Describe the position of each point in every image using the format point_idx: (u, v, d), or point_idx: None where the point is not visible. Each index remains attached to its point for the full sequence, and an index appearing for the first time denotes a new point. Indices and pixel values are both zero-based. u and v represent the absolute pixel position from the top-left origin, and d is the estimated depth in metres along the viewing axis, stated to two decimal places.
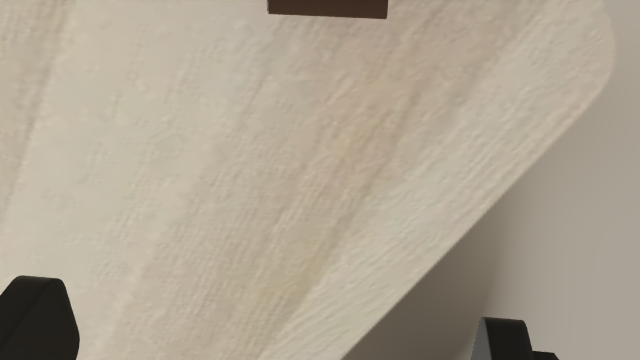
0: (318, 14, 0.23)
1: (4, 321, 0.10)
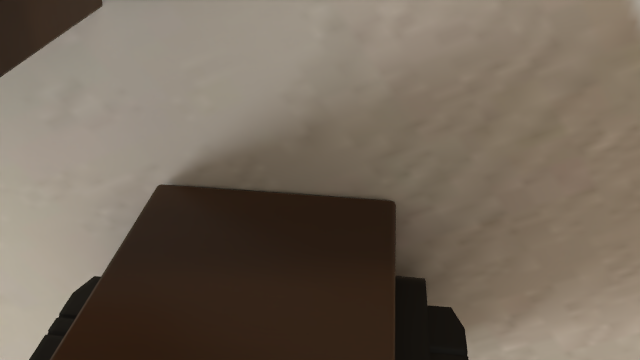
0: None
1: None
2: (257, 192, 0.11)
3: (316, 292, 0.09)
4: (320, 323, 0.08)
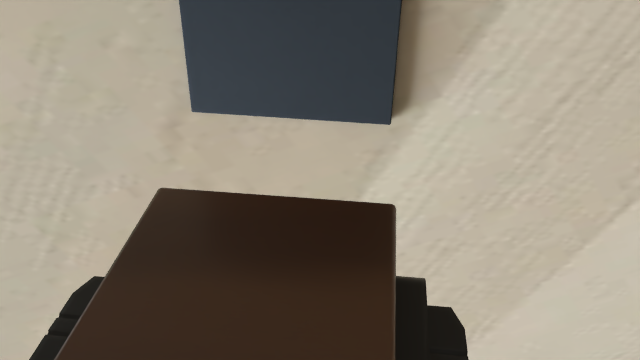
0: None
1: None
2: (258, 195, 0.11)
3: (318, 296, 0.09)
4: (320, 327, 0.08)
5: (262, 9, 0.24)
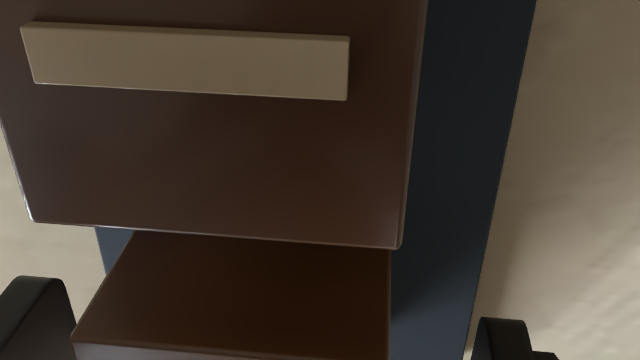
0: None
1: (4, 321, 0.10)
2: None
3: (321, 250, 0.10)
4: (324, 275, 0.10)
5: None
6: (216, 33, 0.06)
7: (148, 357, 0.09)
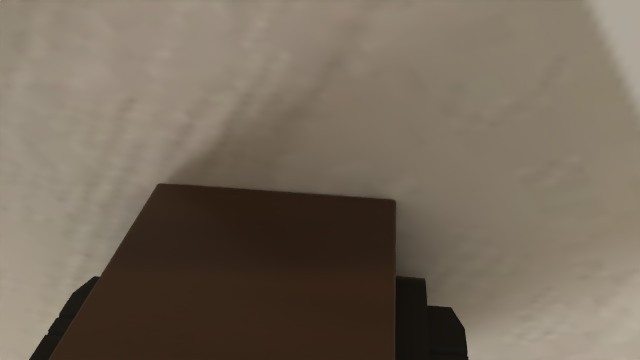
0: None
1: None
2: None
3: None
4: None
5: None
6: None
7: None
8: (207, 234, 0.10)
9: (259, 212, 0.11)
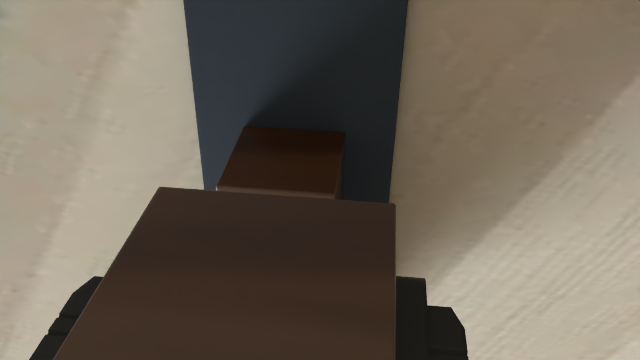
0: None
1: None
2: None
3: None
4: None
5: None
6: None
7: None
8: (208, 238, 0.10)
9: (259, 215, 0.11)
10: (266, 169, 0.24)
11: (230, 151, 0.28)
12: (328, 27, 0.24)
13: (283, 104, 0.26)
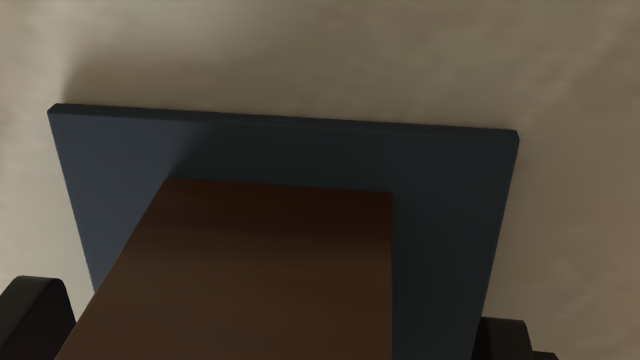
0: None
1: (4, 321, 0.10)
2: None
3: None
4: None
5: None
6: None
7: None
8: (213, 225, 0.11)
9: (262, 204, 0.11)
10: None
11: None
12: None
13: None
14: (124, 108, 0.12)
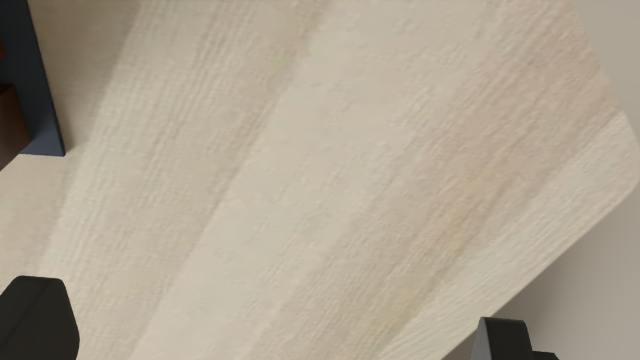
0: None
1: (4, 321, 0.10)
2: None
3: None
4: None
5: None
6: None
7: None
8: None
9: None
10: None
11: None
12: None
13: None
14: None
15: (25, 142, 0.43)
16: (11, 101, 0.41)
